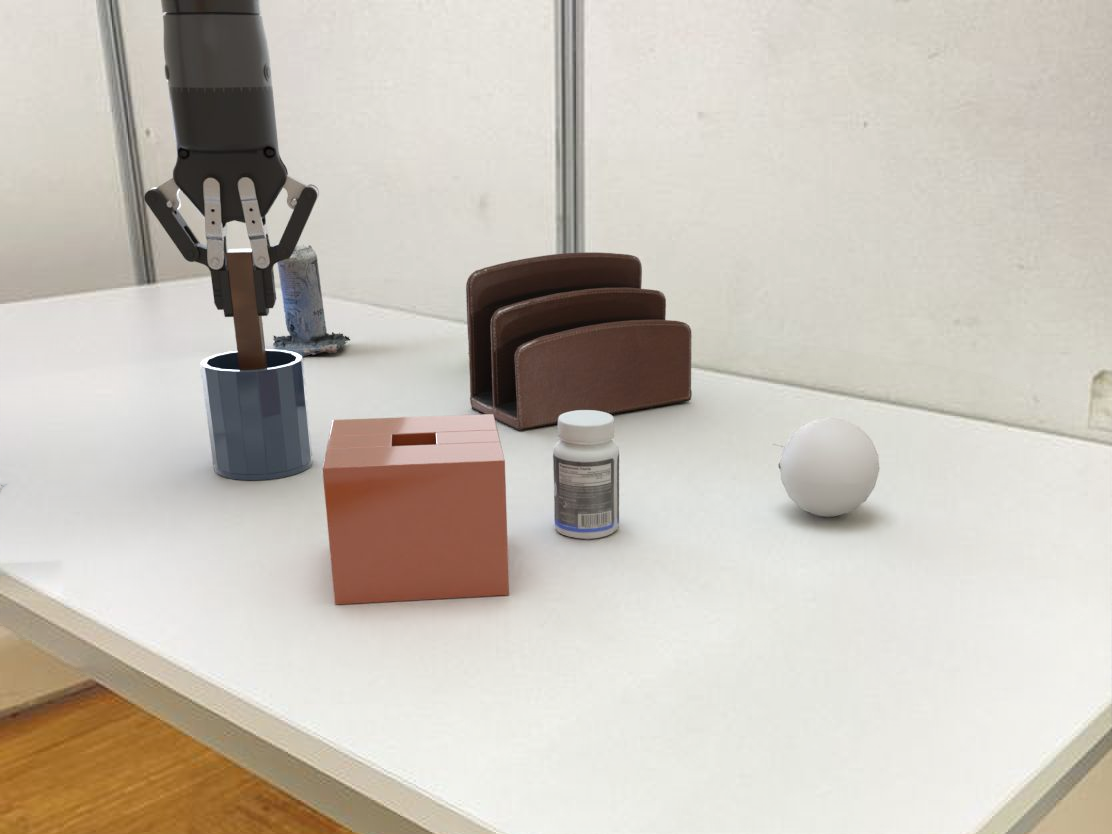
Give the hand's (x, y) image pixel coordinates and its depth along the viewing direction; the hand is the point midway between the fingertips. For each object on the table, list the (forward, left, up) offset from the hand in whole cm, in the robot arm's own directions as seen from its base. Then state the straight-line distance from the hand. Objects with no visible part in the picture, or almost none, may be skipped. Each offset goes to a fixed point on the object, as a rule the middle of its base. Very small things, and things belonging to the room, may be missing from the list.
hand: (246, 313), depth 101 cm
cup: (0, 0, -13) cm, 13 cm away
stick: (0, 0, -11) cm, 11 cm away
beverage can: (+1, +45, -13) cm, 47 cm away
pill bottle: (+25, -19, -13) cm, 34 cm away
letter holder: (+29, +16, -13) cm, 35 cm away
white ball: (+43, -17, -13) cm, 48 cm away
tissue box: (+13, -25, -13) cm, 31 cm away
